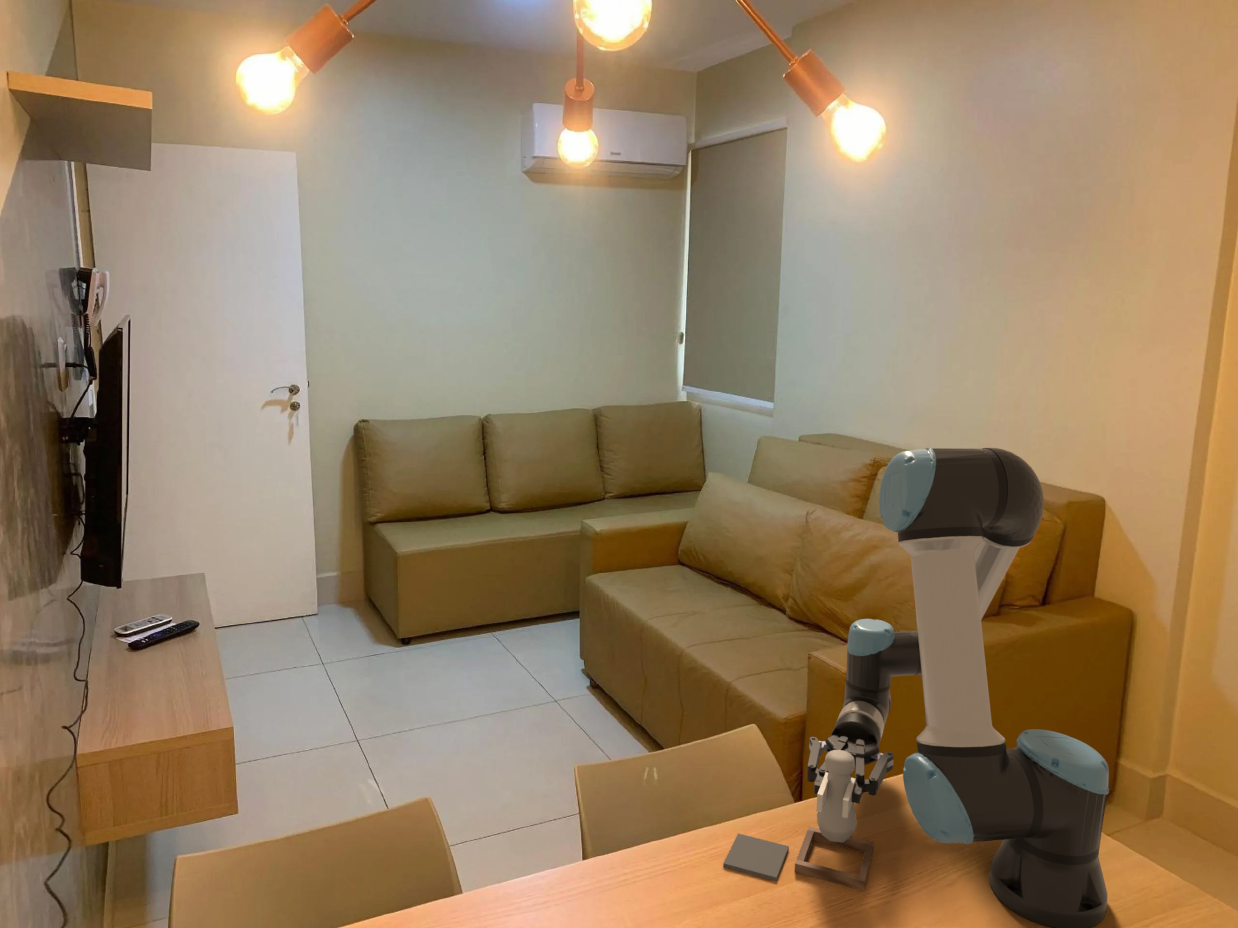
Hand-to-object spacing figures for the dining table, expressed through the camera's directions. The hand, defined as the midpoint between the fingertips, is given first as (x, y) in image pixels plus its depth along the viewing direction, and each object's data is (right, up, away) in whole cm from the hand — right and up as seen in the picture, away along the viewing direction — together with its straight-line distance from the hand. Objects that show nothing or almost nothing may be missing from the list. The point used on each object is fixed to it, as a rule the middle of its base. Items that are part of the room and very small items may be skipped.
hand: (832, 805), depth 129 cm
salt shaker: (+2, -7, +7) cm, 10 cm away
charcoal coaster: (-10, -11, +8) cm, 16 cm away
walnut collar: (+2, -11, +7) cm, 13 cm away
